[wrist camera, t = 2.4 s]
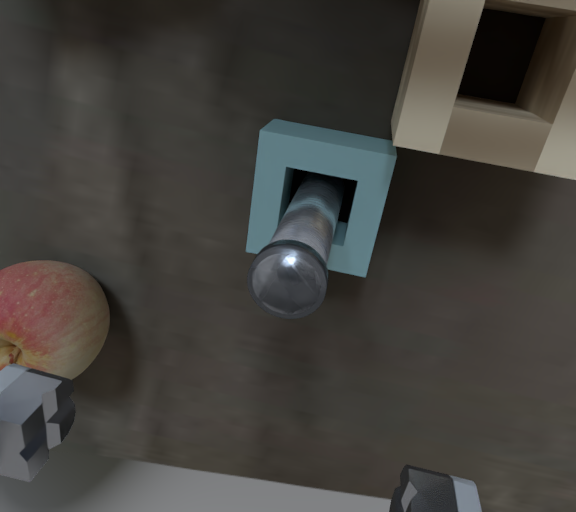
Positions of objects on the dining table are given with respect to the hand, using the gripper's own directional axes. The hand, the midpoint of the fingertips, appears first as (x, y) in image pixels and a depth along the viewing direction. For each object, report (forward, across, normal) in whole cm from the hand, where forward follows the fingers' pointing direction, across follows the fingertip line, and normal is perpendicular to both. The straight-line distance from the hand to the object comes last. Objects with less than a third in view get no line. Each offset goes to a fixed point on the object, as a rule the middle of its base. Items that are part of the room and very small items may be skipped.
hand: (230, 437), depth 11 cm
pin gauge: (+19, 0, 0) cm, 19 cm away
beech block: (+19, -7, -9) cm, 22 cm away
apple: (+20, +17, +12) cm, 28 cm away
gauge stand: (+19, 0, 0) cm, 19 cm away
